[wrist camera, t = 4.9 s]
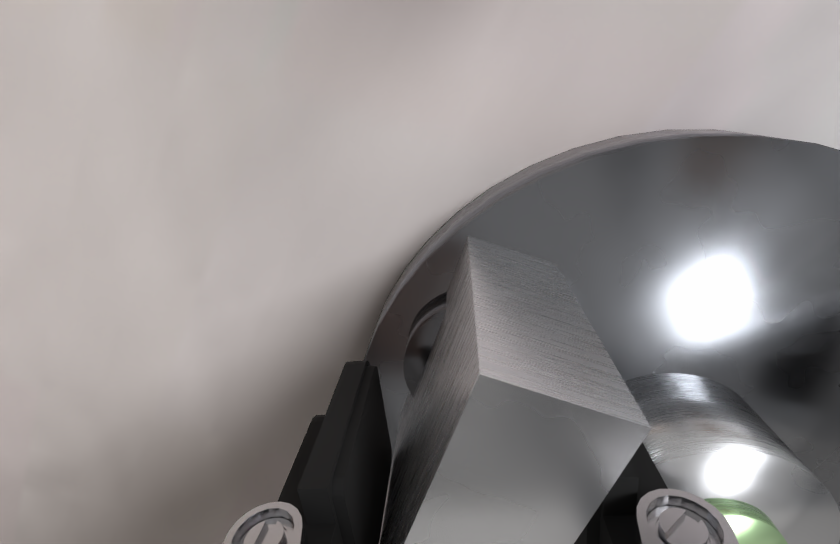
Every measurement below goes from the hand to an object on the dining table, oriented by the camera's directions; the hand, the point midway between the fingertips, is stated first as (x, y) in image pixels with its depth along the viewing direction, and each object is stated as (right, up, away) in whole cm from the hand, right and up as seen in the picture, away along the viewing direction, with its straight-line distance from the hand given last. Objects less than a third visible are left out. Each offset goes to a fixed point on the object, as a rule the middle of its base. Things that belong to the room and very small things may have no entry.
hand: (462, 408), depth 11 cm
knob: (0, +1, +2) cm, 2 cm away
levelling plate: (+6, -2, +5) cm, 8 cm away
